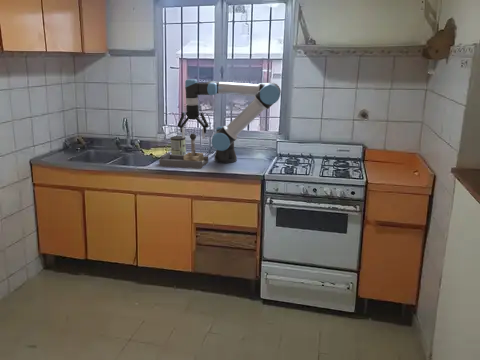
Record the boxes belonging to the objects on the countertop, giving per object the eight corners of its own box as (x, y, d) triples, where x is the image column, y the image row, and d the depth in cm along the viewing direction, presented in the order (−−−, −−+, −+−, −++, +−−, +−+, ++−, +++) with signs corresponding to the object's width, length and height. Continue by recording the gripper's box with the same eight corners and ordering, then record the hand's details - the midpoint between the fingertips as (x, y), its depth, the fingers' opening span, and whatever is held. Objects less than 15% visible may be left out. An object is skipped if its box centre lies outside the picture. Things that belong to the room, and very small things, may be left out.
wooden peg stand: (203, 160, 295) (202, 132, 290) (198, 164, 285) (197, 135, 280) (189, 159, 297) (188, 131, 292) (183, 163, 287) (182, 134, 282)
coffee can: (173, 155, 316) (172, 135, 313) (187, 155, 316) (186, 136, 312) (169, 158, 307) (168, 138, 303) (184, 159, 306) (183, 138, 302)
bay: (208, 162, 298) (208, 154, 296) (201, 168, 283) (201, 159, 281) (168, 160, 303) (168, 152, 302) (159, 165, 288) (159, 157, 287)
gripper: (171, 105, 280) (173, 138, 286) (209, 105, 275) (210, 139, 281) (175, 103, 287) (177, 136, 293) (212, 104, 282) (213, 137, 288)
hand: (193, 138), depth 287 cm, fingers open, 13 cm apart
